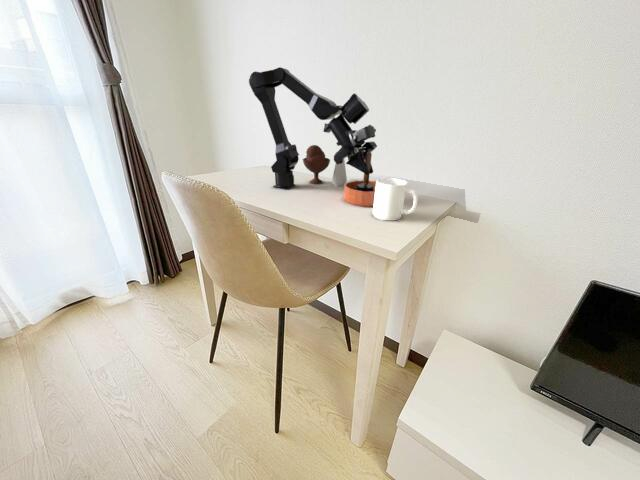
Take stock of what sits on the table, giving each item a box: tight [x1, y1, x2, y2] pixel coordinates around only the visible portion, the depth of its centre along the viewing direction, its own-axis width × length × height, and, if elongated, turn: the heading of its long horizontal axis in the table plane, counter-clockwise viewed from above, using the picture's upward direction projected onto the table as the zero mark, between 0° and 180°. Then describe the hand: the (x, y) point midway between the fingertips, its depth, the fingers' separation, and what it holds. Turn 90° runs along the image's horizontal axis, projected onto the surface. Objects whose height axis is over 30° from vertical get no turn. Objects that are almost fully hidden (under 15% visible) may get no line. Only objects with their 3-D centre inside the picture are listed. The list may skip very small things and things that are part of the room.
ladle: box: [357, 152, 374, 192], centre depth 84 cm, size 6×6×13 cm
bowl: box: [342, 179, 376, 208], centre depth 87 cm, size 14×14×5 cm
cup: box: [372, 177, 419, 222], centre depth 72 cm, size 8×12×10 cm
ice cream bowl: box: [302, 144, 331, 185], centre depth 105 cm, size 11×11×15 cm
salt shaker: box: [332, 151, 348, 187], centre depth 102 cm, size 6×6×13 cm
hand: (370, 173), depth 83 cm, fingers closed on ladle
